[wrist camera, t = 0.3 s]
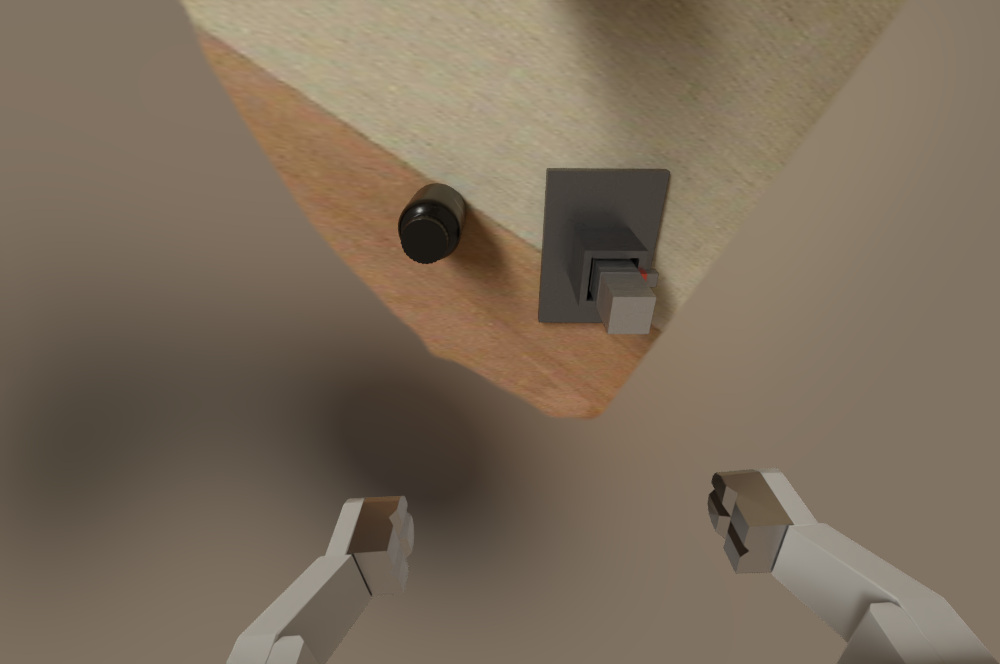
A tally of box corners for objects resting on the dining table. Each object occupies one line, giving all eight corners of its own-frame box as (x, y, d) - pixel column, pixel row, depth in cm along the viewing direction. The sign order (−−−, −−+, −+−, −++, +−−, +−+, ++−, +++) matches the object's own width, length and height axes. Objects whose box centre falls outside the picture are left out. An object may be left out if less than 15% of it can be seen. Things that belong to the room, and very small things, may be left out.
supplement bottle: (477, 202, 54) (471, 234, 43) (449, 246, 56) (437, 286, 46) (427, 169, 52) (409, 194, 41) (401, 217, 54) (378, 252, 44)
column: (584, 238, 54) (612, 296, 40) (617, 238, 54) (657, 296, 40) (580, 269, 56) (606, 334, 43) (612, 269, 56) (649, 334, 43)
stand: (546, 168, 51) (556, 189, 42) (665, 169, 52) (700, 190, 42) (537, 316, 62) (544, 359, 53) (637, 317, 62) (660, 359, 53)
